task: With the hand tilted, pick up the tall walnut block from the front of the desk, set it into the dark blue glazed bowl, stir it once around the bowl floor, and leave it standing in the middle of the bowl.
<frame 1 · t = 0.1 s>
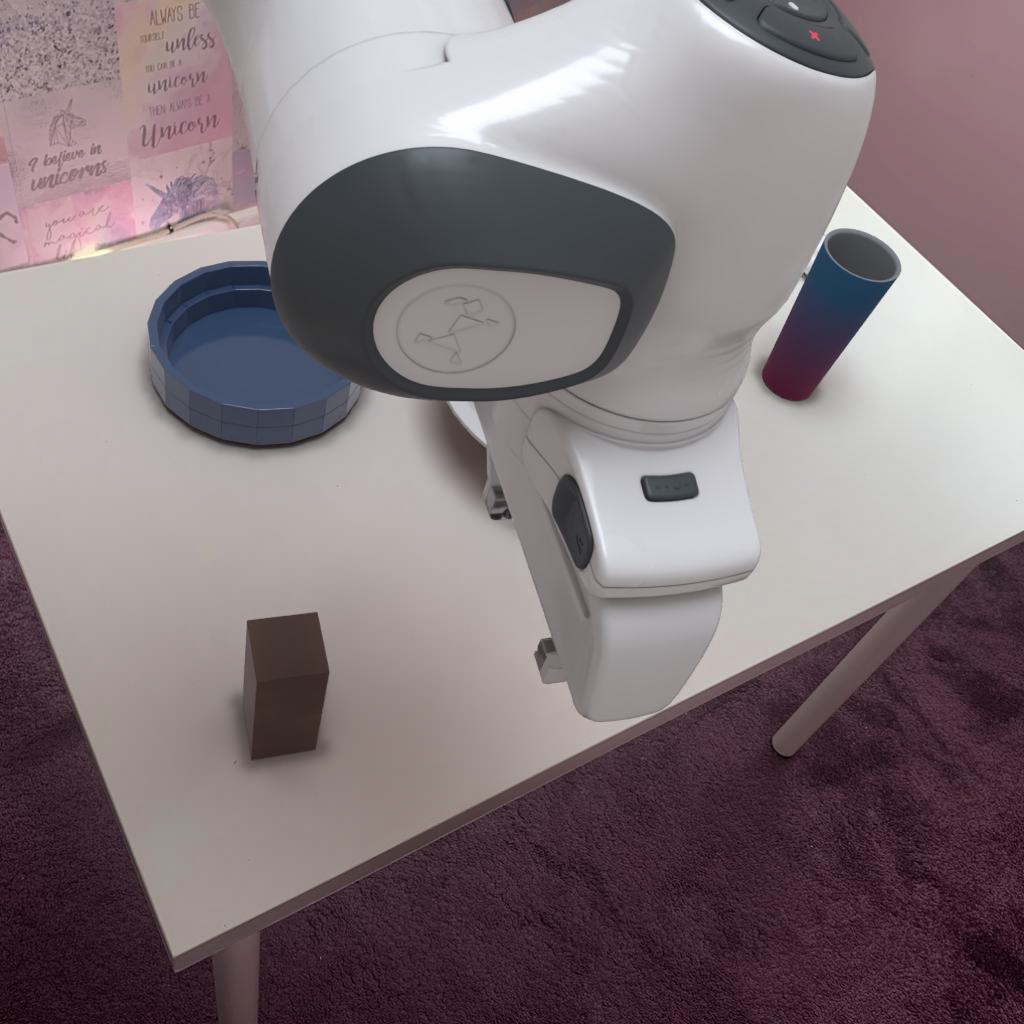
hand: (525, 584, 52), 21 cm above the table, tool pointing down, fingers open, 8 cm apart
bowl: (258, 372, 85), on the table
block: (278, 726, 67), on the table
smartphone: (640, 229, 109), on the table
cup: (786, 382, 99), on the table
toy car: (816, 274, 111), on the table
white sink basin: (563, 430, 89), on the table
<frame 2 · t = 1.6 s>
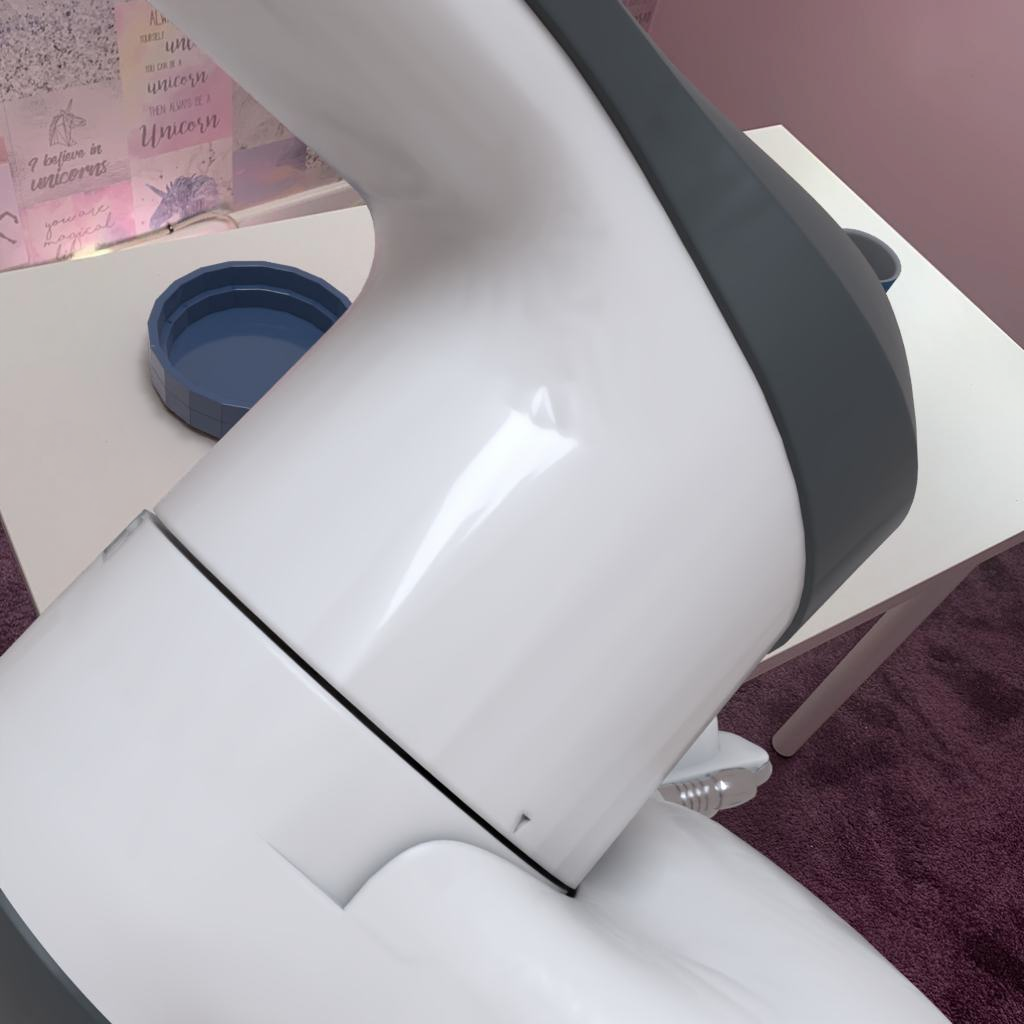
hand: (361, 716, 41), 25 cm above the table, tool tilted 45°, fingers open, 8 cm apart
nothing on the table moved.
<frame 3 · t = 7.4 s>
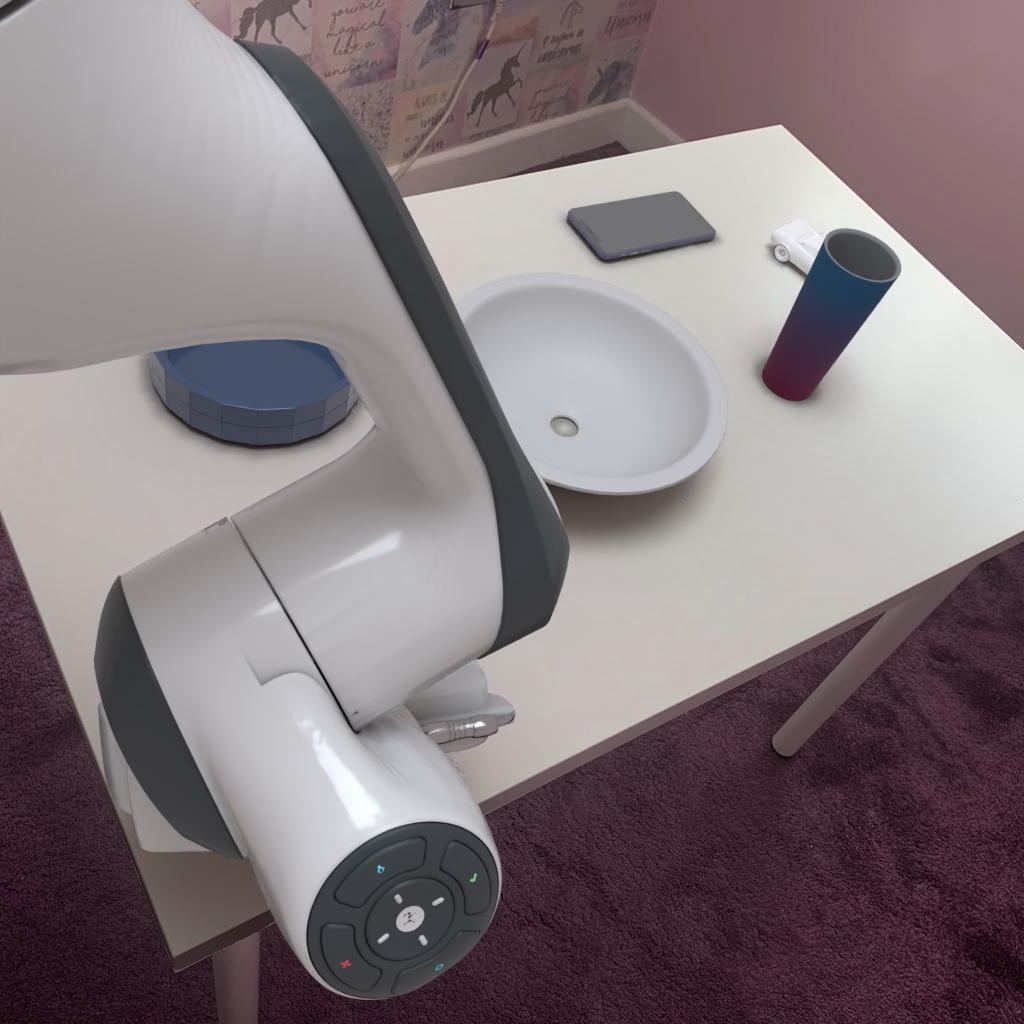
hand: (281, 676, 63), 5 cm above the table, tool tilted 45°, fingers closed on block, 4 cm apart
block: (278, 726, 67), on the table, touching gripper
everything else where it was.
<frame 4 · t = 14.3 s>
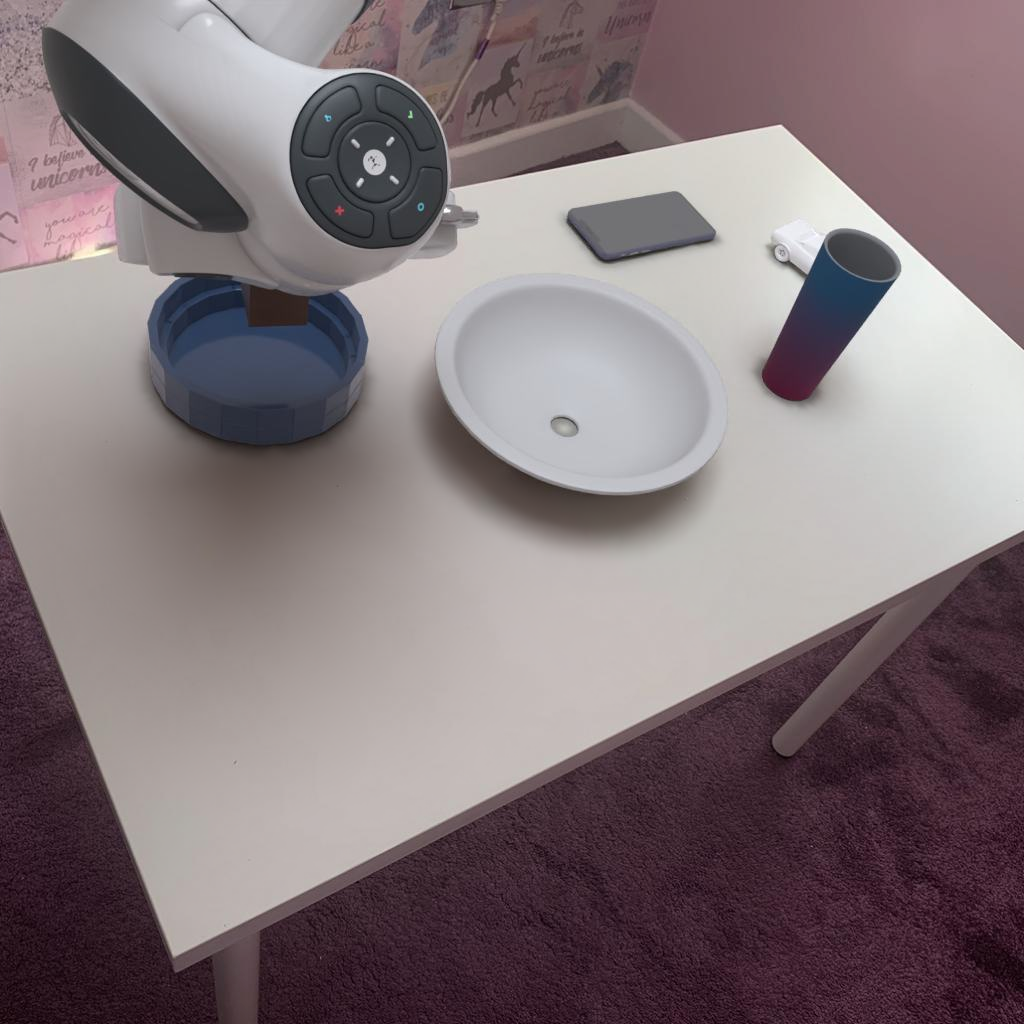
hand: (275, 239, 71), 16 cm above the table, tool tilted 45°, fingers closed on block, 4 cm apart
block: (273, 306, 75), point 11 cm above the table, touching gripper
everything else where it was.
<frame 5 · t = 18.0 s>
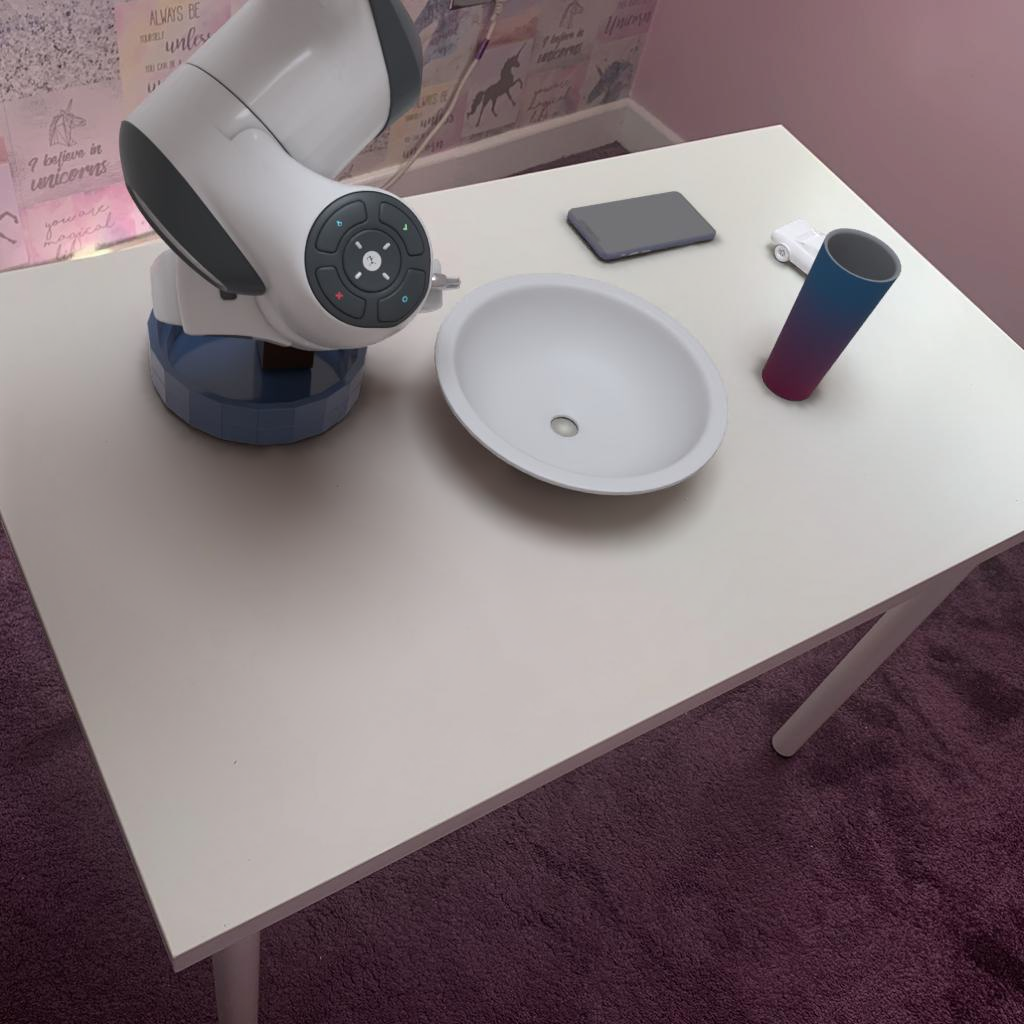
hand: (286, 295, 82), 6 cm above the table, tool tilted 45°, fingers closed on block, 4 cm apart
block: (284, 351, 86), point 1 cm above the table, touching gripper
everything else where it was.
when the fingers open (6 cm above the table, at t = 21.3 s): block stays where it is, resting on bowl.
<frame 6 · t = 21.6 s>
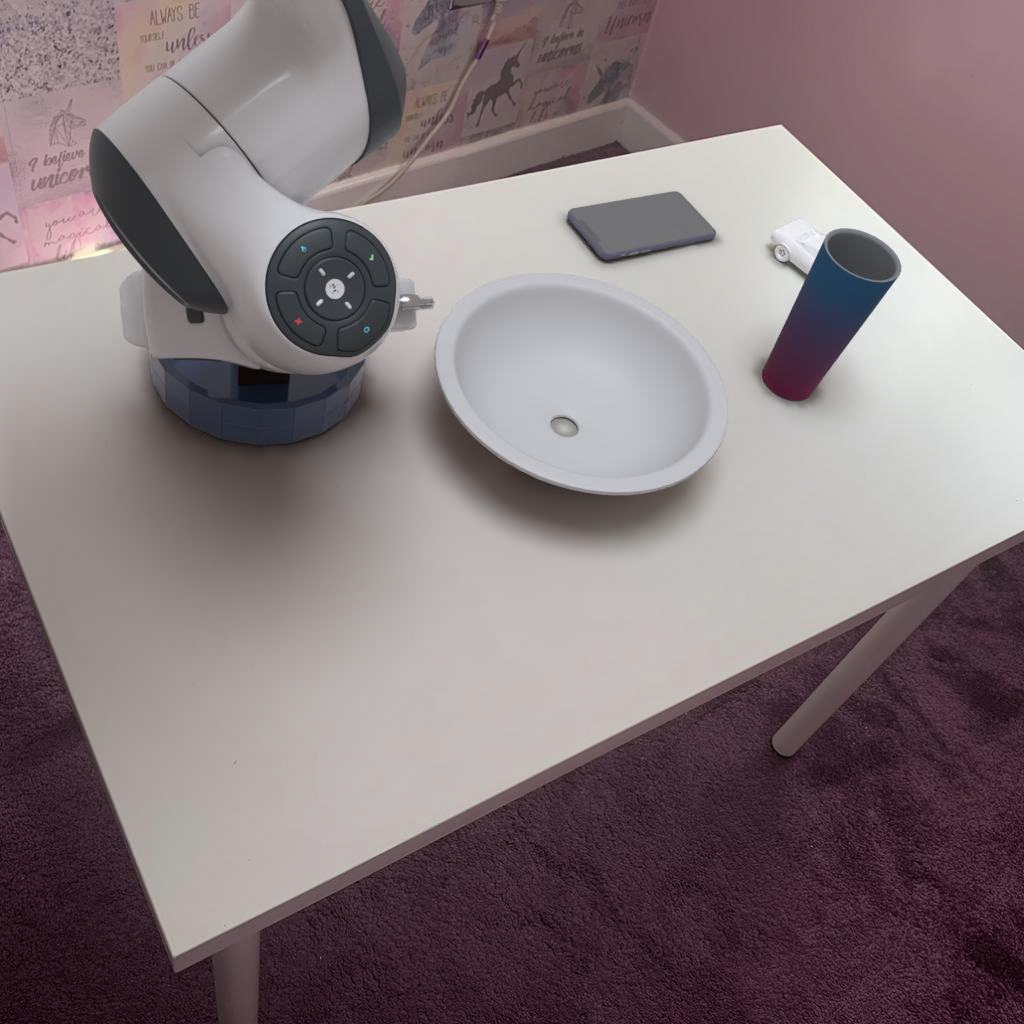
hand: (260, 313, 81), 6 cm above the table, tool tilted 45°, fingers open, 6 cm apart
block: (260, 366, 85), point 1 cm above the table, touching bowl
everything else where it was.
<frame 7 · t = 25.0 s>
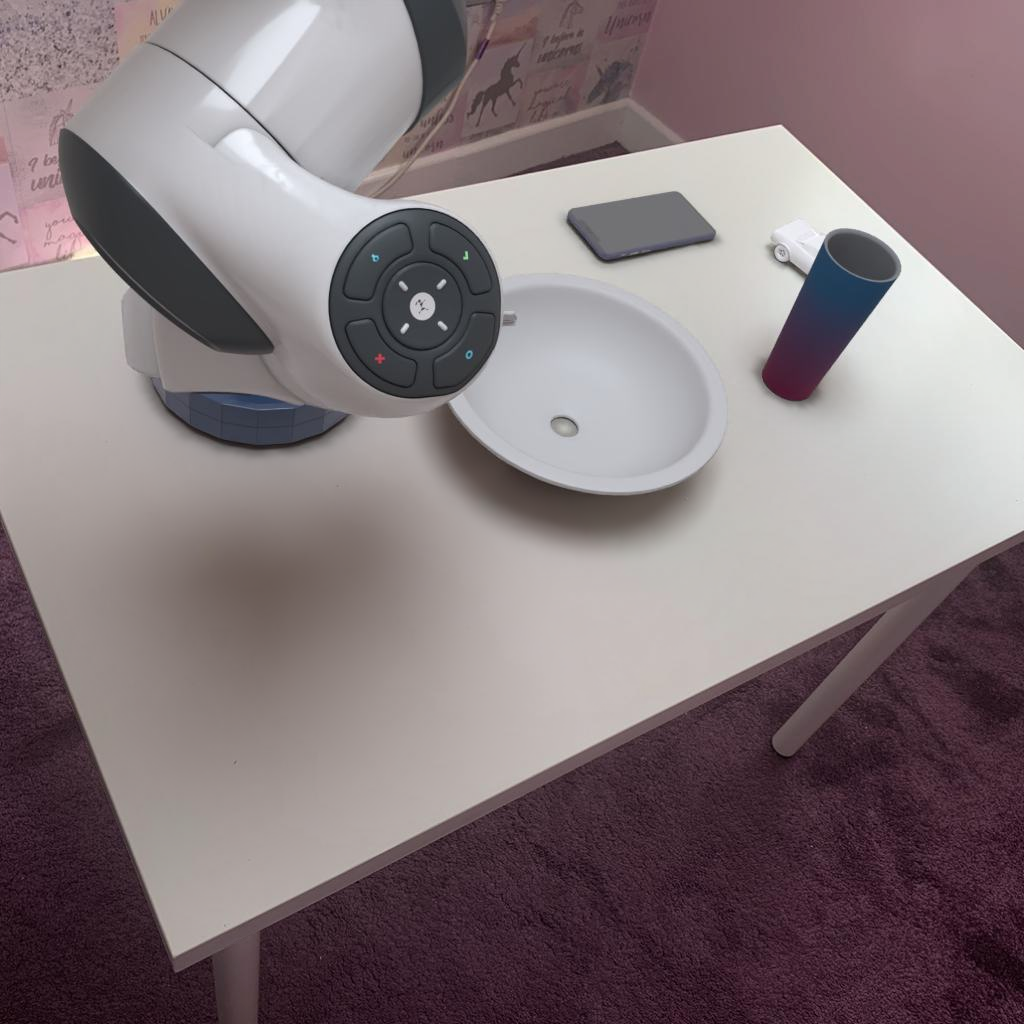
hand: (293, 329, 66), 16 cm above the table, tool tilted 45°, fingers open, 8 cm apart
nothing on the table moved.
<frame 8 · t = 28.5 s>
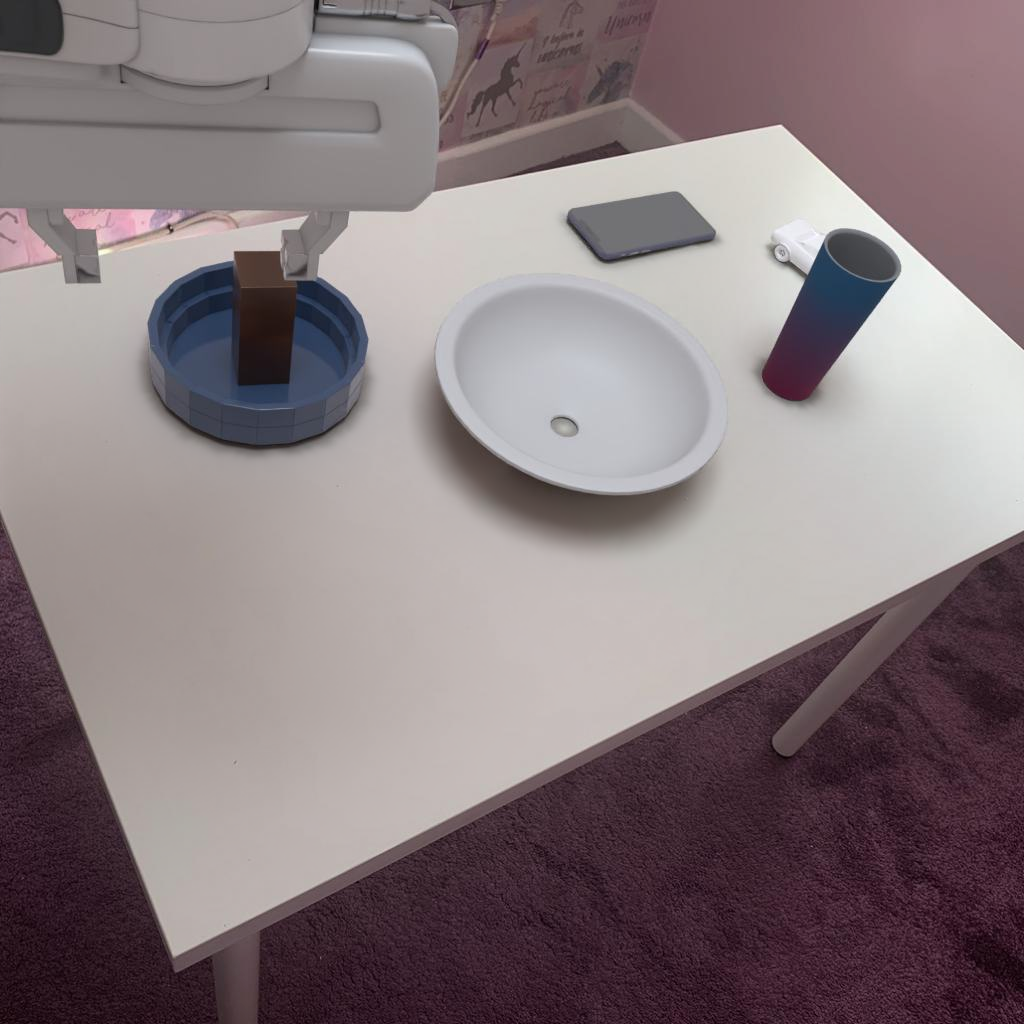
hand: (193, 273, 48), 29 cm above the table, tool pointing down, fingers open, 8 cm apart
nothing on the table moved.
at the end: block inside the target area in the bowl (0.1 cm from its centre), point 0.6 cm above the bowl's base; block tilted 0°; the gripper is holding nothing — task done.
